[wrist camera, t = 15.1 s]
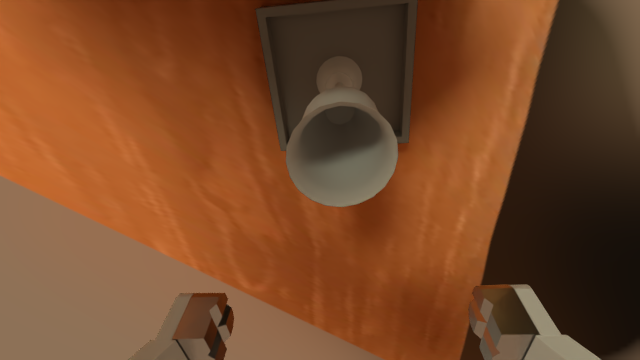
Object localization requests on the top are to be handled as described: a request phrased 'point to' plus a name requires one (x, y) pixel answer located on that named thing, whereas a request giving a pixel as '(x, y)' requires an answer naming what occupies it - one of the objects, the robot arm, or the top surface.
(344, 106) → the chalice
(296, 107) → the tray
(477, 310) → the robot arm
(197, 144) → the top surface
